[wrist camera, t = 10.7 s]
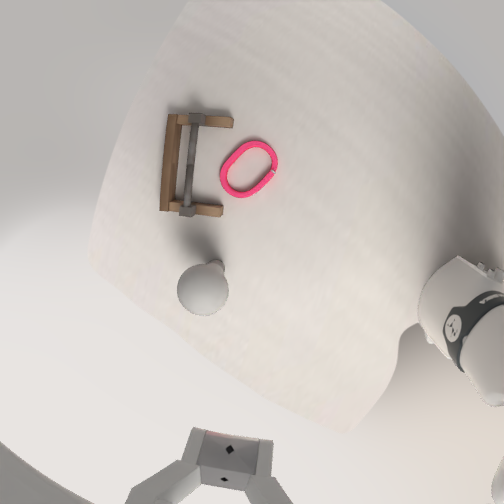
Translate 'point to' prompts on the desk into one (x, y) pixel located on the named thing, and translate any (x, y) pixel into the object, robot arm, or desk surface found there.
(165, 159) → the wooden bar clamp
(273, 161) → the fitness band
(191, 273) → the lightbulb
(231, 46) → the desk surface
